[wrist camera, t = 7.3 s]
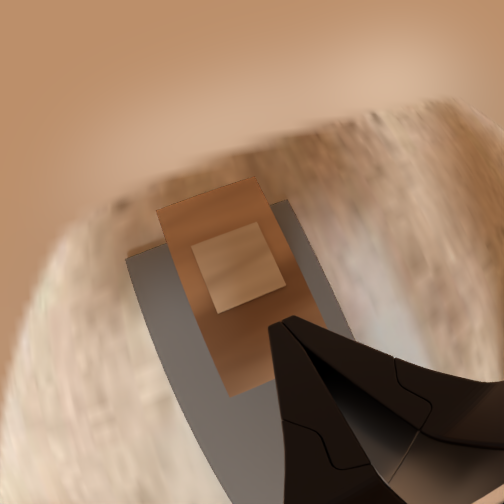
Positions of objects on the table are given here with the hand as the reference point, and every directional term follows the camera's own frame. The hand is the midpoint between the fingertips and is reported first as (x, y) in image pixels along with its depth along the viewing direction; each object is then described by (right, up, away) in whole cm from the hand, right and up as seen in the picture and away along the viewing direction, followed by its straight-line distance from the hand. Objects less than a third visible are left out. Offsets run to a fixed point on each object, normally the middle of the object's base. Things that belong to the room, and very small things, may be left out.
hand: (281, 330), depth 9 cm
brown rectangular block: (0, -3, +4) cm, 5 cm away
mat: (0, -5, +7) cm, 8 cm away
